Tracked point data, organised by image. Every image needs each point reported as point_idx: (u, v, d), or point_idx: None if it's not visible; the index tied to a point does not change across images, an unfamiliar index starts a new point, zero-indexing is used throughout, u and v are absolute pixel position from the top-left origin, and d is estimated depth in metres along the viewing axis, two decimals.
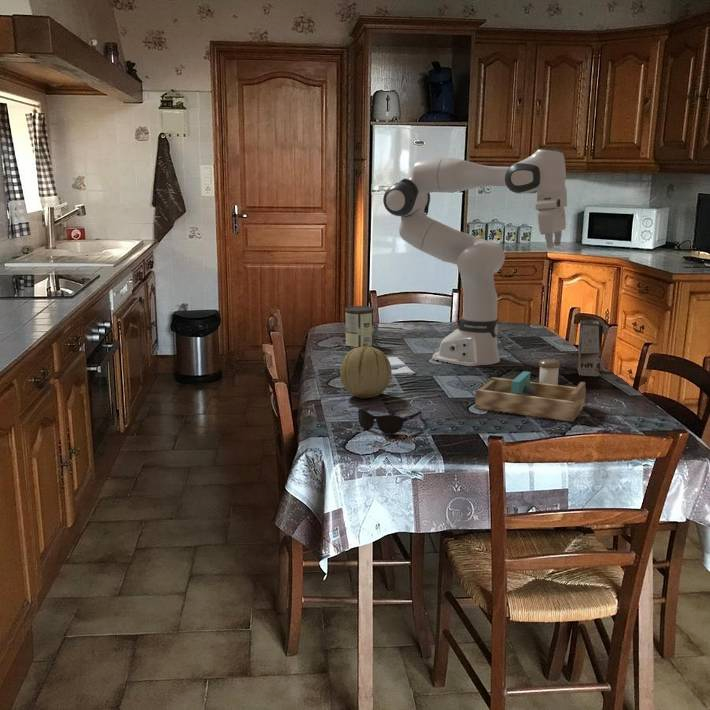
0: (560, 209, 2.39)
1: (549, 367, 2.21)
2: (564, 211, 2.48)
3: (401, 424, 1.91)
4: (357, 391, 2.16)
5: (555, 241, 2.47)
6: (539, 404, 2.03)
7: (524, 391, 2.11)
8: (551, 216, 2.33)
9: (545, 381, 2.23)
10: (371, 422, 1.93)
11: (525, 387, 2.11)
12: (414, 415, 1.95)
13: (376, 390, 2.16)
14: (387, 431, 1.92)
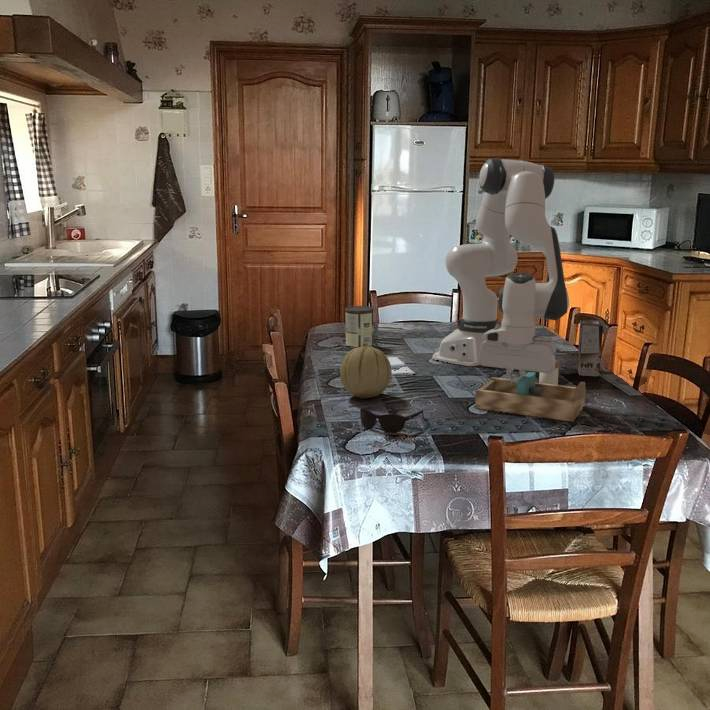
0: (509, 345, 2.08)
1: None
2: (546, 352, 2.05)
3: (403, 423, 1.92)
4: (357, 391, 2.16)
5: None
6: (539, 404, 2.03)
7: (529, 392, 2.10)
8: (480, 347, 2.13)
9: (545, 381, 2.23)
10: (373, 421, 1.94)
11: (530, 388, 2.10)
12: (416, 414, 1.96)
13: (376, 390, 2.16)
14: (389, 430, 1.92)
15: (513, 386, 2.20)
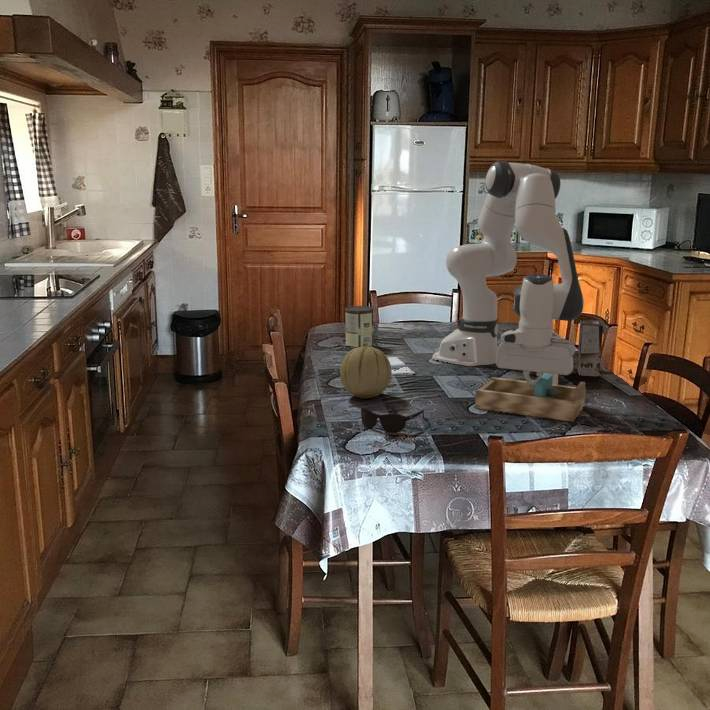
0: (526, 347, 2.06)
1: None
2: (564, 353, 2.03)
3: (404, 423, 1.92)
4: (357, 391, 2.16)
5: None
6: (539, 404, 2.03)
7: (547, 394, 2.08)
8: (497, 349, 2.11)
9: None
10: (374, 421, 1.94)
11: (548, 390, 2.08)
12: (417, 414, 1.96)
13: (376, 390, 2.16)
14: (390, 430, 1.92)
15: (513, 386, 2.20)
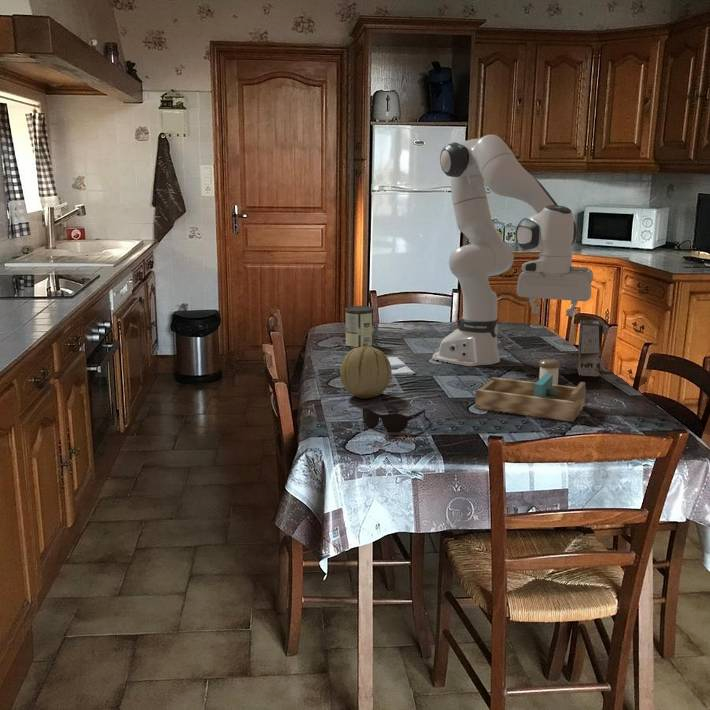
0: (546, 275, 2.16)
1: (549, 367, 2.21)
2: (583, 280, 2.13)
3: (406, 423, 1.92)
4: (357, 391, 2.16)
5: None
6: (539, 404, 2.03)
7: (547, 394, 2.08)
8: (518, 278, 2.21)
9: None
10: (376, 421, 1.94)
11: (548, 390, 2.08)
12: (418, 413, 1.96)
13: (376, 390, 2.16)
14: (392, 430, 1.93)
15: (513, 386, 2.20)
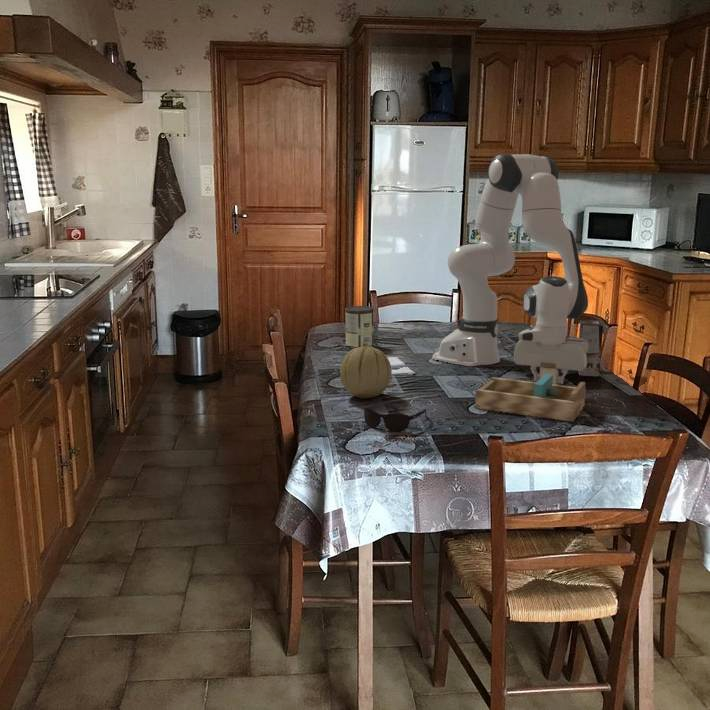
0: (543, 344, 2.20)
1: (549, 367, 2.21)
2: (578, 351, 2.17)
3: (408, 422, 1.92)
4: (357, 391, 2.16)
5: (558, 378, 2.24)
6: (539, 404, 2.03)
7: (547, 394, 2.08)
8: (515, 346, 2.25)
9: None
10: (377, 420, 1.95)
11: (548, 390, 2.08)
12: (420, 413, 1.96)
13: (376, 390, 2.16)
14: (394, 429, 1.93)
15: (513, 386, 2.20)
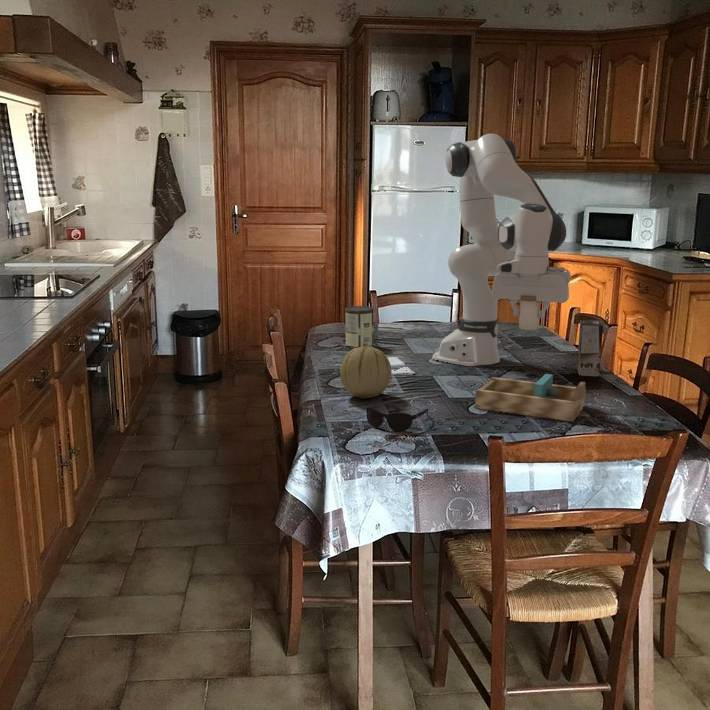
0: (522, 276, 2.08)
1: (529, 300, 2.09)
2: (560, 281, 2.05)
3: (411, 421, 1.93)
4: (357, 391, 2.16)
5: (539, 312, 2.12)
6: (539, 404, 2.03)
7: (547, 394, 2.08)
8: None
9: (525, 315, 2.10)
10: (380, 420, 1.95)
11: (548, 390, 2.08)
12: (422, 412, 1.97)
13: (376, 390, 2.16)
14: (397, 429, 1.93)
15: (513, 386, 2.20)
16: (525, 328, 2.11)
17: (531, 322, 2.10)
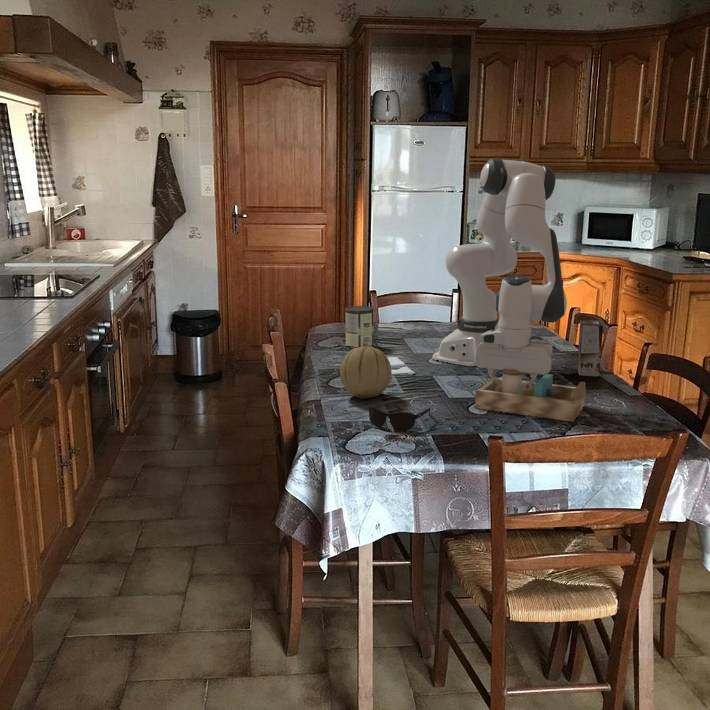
0: (505, 347, 2.09)
1: (512, 374, 2.10)
2: (542, 354, 2.06)
3: (414, 421, 1.93)
4: (357, 391, 2.16)
5: None
6: (539, 404, 2.03)
7: (547, 394, 2.08)
8: (477, 349, 2.14)
9: (508, 389, 2.11)
10: (383, 419, 1.95)
11: (548, 390, 2.08)
12: (425, 412, 1.98)
13: (376, 390, 2.16)
14: (400, 428, 1.94)
15: None
16: None
17: None
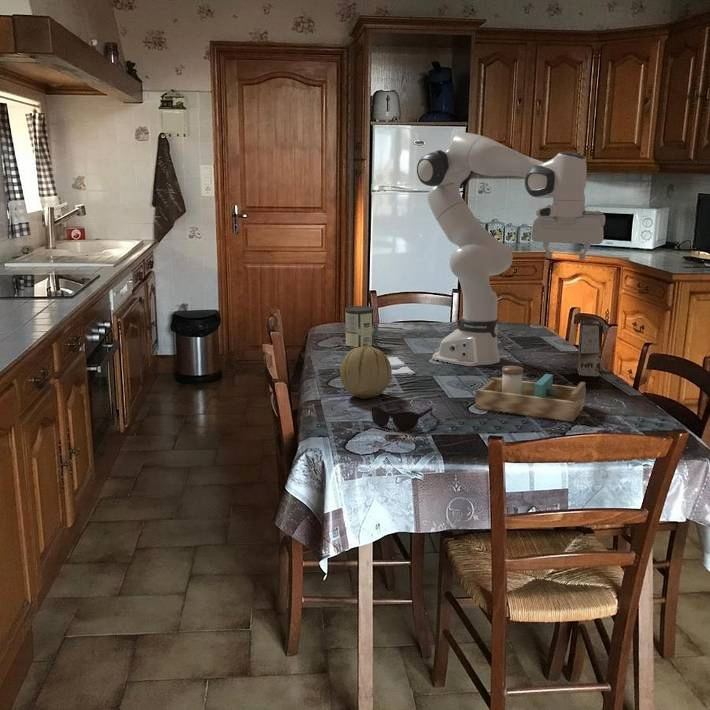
0: (560, 219, 2.24)
1: (512, 374, 2.10)
2: (595, 223, 2.21)
3: (417, 420, 1.94)
4: (357, 391, 2.16)
5: None
6: (539, 404, 2.03)
7: (547, 394, 2.08)
8: (533, 224, 2.28)
9: (508, 388, 2.11)
10: (386, 419, 1.96)
11: (548, 390, 2.08)
12: (427, 411, 1.98)
13: (376, 390, 2.16)
14: (403, 427, 1.94)
15: None
16: None
17: None
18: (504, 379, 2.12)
